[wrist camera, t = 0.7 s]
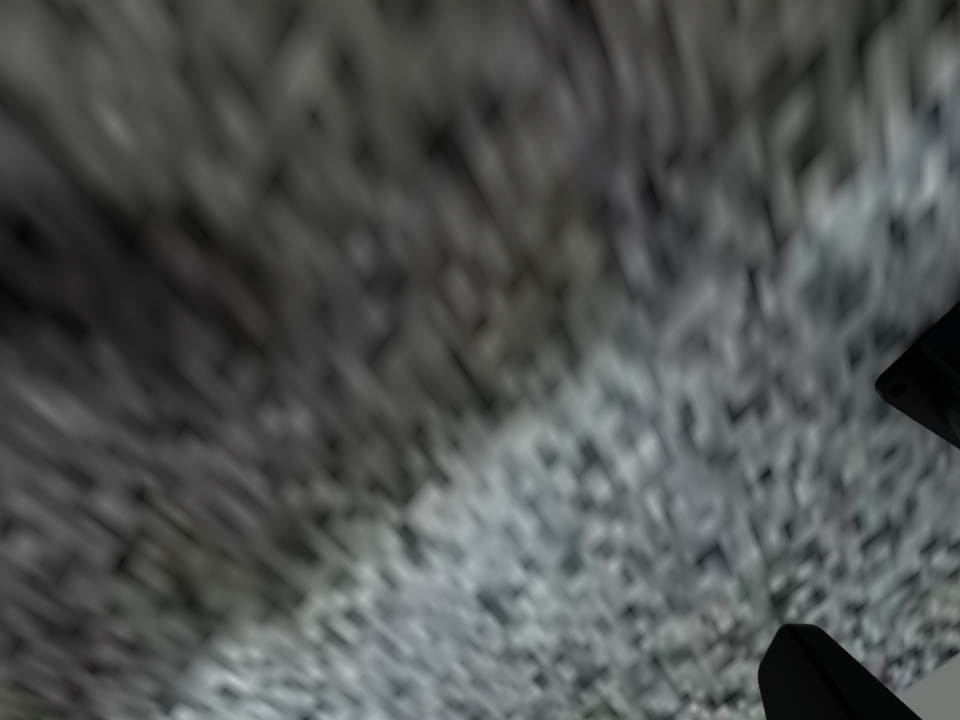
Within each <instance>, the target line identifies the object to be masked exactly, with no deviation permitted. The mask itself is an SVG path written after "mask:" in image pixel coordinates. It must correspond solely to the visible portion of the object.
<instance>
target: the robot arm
mask: <svg viewBox="0 0 960 720" xmlns="http://www.w3.org/2000/svg"><path fill="white" fill-rule="evenodd" d="M897 383H898V384H897ZM895 384H897V386H895V387H894V388H892V386H894V385H895ZM875 390H876V391H877V393H878V394H879V395H880V396H881V397H882V398H883V399H884V401H885V402H887V403H888V404H890V405H892V406H893V407H895V408H896V409H898V410H899V411H901V412H902V413H904V414H906V415H907V416H909V417H910V418H912V419H913V420H915V421H916V422H918V423H920V424H921V425H923V426H924V427H926V428H927V429H929V430H930V431H932V432H934V433H935V434H937V435H938V436H940V437H941V438H943V439H945V440H946V441H948V442H949V443H951V444H952V445H954V446H955V447H957V448H959V449H960V301H959V302H958V303H957V304H956V305H955V306H954V307H953V308H952V309H951V310H950V311H949V312H948V313H947V314H945V315H944V316H943V317H942V318H941V319H940V320H939V321H938V322H937V323H936V324H935V325H934V326H933V327H932V328H930V329H929V330H928V331H927V332H926V333H925V334H924V335H923V336H922V337H921V338H920V339H919V340H918V341H917V342H915V343H914V344H913V345H912V346H911V347H910V348H909V349H908V350H907V351H906V352H905V353H904V354H903V355H902V356H901V357H899V358H898V359H897V360H896V361H895V362H894V363H893V364H892V365H891V366H890V367H889V368H888V369H887V370H886V371H884V372H883V373H882V374H881V375H880V377H879V378H878V379H877V380H876V383H875ZM758 684H759V689H760V694H761V698H762V702H763V707H764V711H765V715H766V720H922V719H921V718H920V717H919V716H917V715H916V714H915V713H914V712H913V711H912V710H911V709H910V708H909V707H908V706H906V705H905V704H904V703H903V702H902V701H901V700H900V699H899V698H898V697H897V696H895V695H894V694H893V693H892V692H891V691H890V690H889V689H888V688H887V687H885V686H884V685H883V684H882V683H881V682H880V681H879V680H878V679H877V678H876V677H874V676H873V675H872V674H871V673H870V672H869V671H868V670H867V669H866V668H865V667H863V666H862V665H861V664H860V663H859V662H858V661H857V660H856V659H855V658H853V657H852V656H851V655H850V654H849V653H848V652H847V651H846V650H845V649H844V648H842V647H841V646H840V645H839V644H838V643H837V642H836V641H835V640H834V639H832V638H831V637H830V636H829V635H828V634H827V633H826V632H825V631H824V630H822V629H821V628H819V627H818V626H816V625H812V624H796V623H787V624H784V625H782V626H781V627H780V628H779V629H778V631H777V632H776V634H775V636H774V638H773V640H772V642H771V644H770V645H769V647H768V649H767V651H766V653H765V655H764V657H763V659H762V660H761V662H760V665H759V670H758Z"/></svg>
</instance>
